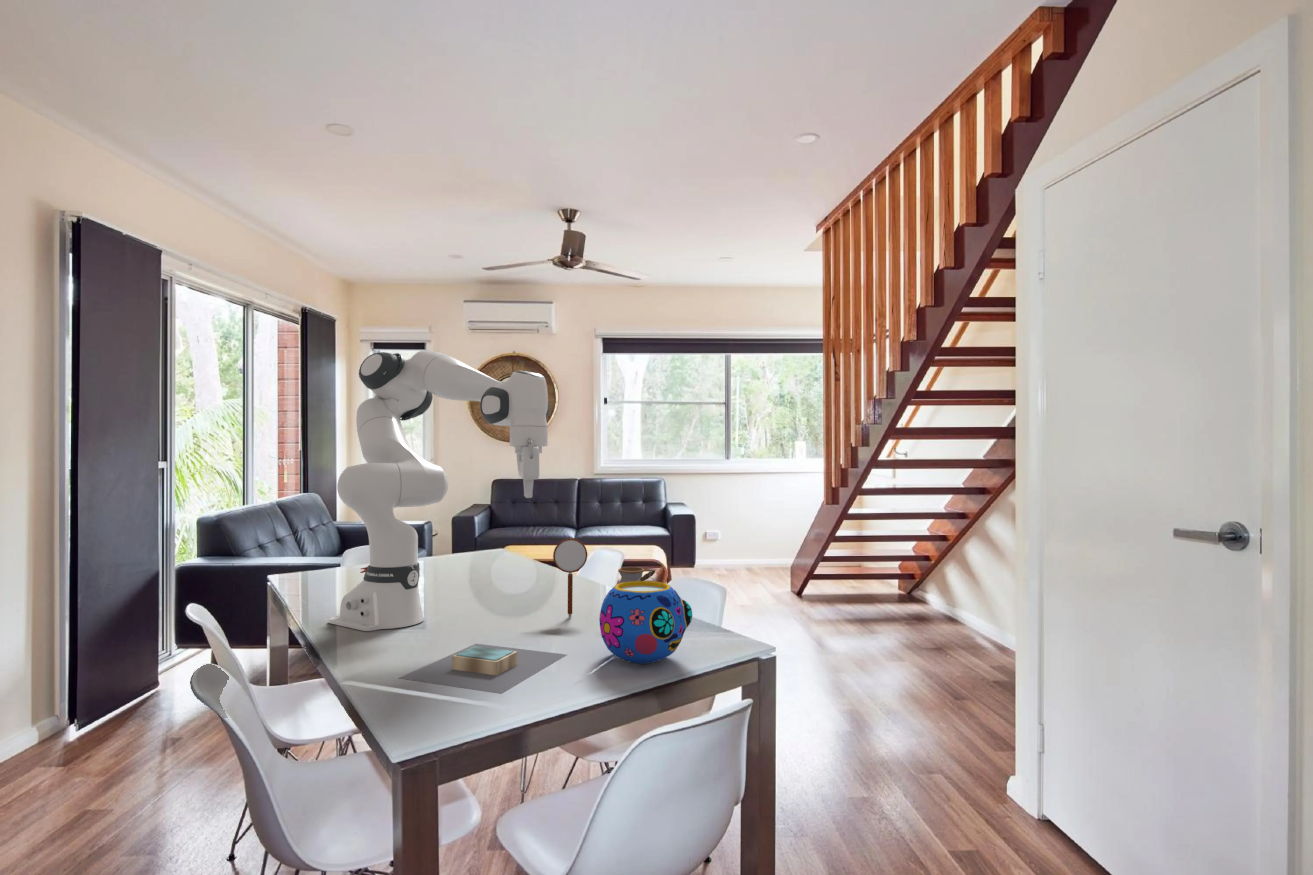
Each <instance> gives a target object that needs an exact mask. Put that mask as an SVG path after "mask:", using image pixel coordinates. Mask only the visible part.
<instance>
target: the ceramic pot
mask: <svg viewBox="0 0 1313 875" xmlns="http://www.w3.org/2000/svg"><path fill="white" fill-rule="evenodd" d="M602 601H603V602H602V603H601V607H600V612H599V620H598V621H599V628H600V629H599V630H600V635H601V638H602V640H603V643H604V644H605V646H606V648H607V650H608V651H609V652H610V653H611V654H613V656H615V657H617V658H619V659H621V660H622V661H626V662H628V663H633V664H640V665H644V664H652V663H656V662H658V661H662V660H664V659H666V658H668V657H669V656H671V655H672V654H674V653H675V652H676V650H678V649H677V648H678V647H679V646H680V644H681V642H682V640H683V636H684V634H685V632H686V629H687V628H688V627H689V626H690V625H691V622H692V620H693V610H692V607H691V605H690V603H688V602H687V601H686V600H684V599H682V597H681V596H680V595H679V594H678V592H677V591H676V590H675V589H674V588H673V587H672V586H671V585H669V584H667V583H665V582H660V581H653V580H652V581H651V580H644V581H631V582H624V583H617V584H615V585H614V586H613V587H612V588H611V589H609V591H608V592H607V594H606V595H605V597H604V599H603V600H602Z"/></svg>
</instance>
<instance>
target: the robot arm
mask: <svg viewBox="0 0 1313 875" xmlns="http://www.w3.org/2000/svg"><path fill="white" fill-rule="evenodd" d="M358 378H359V379H360V381H361V382H362V383H363V385H364V386H365V387H366V388H367V389H369V390H370V391H372V393H374V394H375V395H374V397H370V398H367V399H365V400H364V401H363V402H361V403H360V405H359V406H358V407H357V410H356V418H355V419H356V421H355V422H356V433H357V437H358V440H359V447H360V450H361V453H362V457H363V458H364V460H365V461H366V462H365V463H362V464H355V465H351V466H347V467H346V468H345V469H344V470H343V471H342V472H341V474H340V475H339V477H338V480H337V486H336V487H337V493H338V497H339V498H340V500H341V501H342V503H343V504H344V505H345V506H347V508H350V509H351V510H353V511H354V512H355V513H356V514H357V515H358V516H359V517H360V519H361V520H362V522H363V524H364V526H365V528H366V531H367V535H368V546H369V564H368V565H367V566H366V567H361V568H360V572H359V573H360V574H363V573H364V575H363V578H362V581H361V582H359V583H358V584H357V585H356V586H355V587H353V588H352V589H350V591H348V592H347V593H346V594H345V595H343V597H342V599H341V602H340V608H339V613H338V614H336V615H333V616H332V617H330V618H329V619H328V623H329V624H331V625H336V626H341V627H344V628H345V627H346V628H349V629H354V630H358V631H363V632H369V631H370V632H372V631H378V630H389V629H390V630H391V629H399V628H405V627H409V626H410V627H411V626H413V625H417V624H420V623H422V622H424V620H425V617H424V613H423V610H422V604H421V599H420V593H419V592H420V591H419V580H420V569H421V568H420V562H419V557H418V555H419V549H418V548H419V535H418V532H417V530H416V529H415V528H414V527H413V526H412V525H410V524H408V523H406V522H404V521H402V520H401V519H400V520H399V519H397V518H396V517H395V516H396V515H395V514H394V509H395V508H414V507H417V508H418V507H425V506H428V505H429V506H430V505H433V504H437V503H438V504H439V503H440V502H441V501H442V500H444V498H445V496H446V494H447V491H448V490H449V489H448V488H449V479H448V476H447V474H446V471H445V470H444V469H443V467H441V466H440V465H438V464H436V463H433V462H430V461H428V460H427V459H425V458H423V457H422V456H421V455H419V454H418V452H416V451H415V450H414V449H413V448H412V447H411V446H410V444H409V443H408V439H407V437H406V435H405V432H404V429H403V426H402V423H401V421H409V420H411V419H415V418H416V417H419V416H421V415H423V414H424V413H425V412H427V410H428V409H429V408H431V407H430V406H431V404H432V402H433V395H434V396H436V397H438V398H442V399H446V400H451V401H462V402H463V401H464V402H480V403H479V404H480V409H479V410H480V413H481V416H482V419H484V421H485V422H487V424H490V425H493V426H499V427H500V426H501V427H502V426H503V427H504V426H505V427H509V446H510V447H514V453H515V454H516V463H517V473H518V476H519V477H520V478H521V479H523V483H522V484H523V496H524V497H525V498H526V499H531V498H533V491H534V482H535V481H534V480H539V478H540V454H543V447H548V444H549V443H548V438H549V437H548V433H549V432H548V431H549V429H548V428H549V427H548V421H547V419H548V417H549V415H550V401H549V399H548V398H549V394H548V384H547V380H546V377H545V376H544V375H543V374H541V373H538V372H533V371H527V370H517V371H516V370H515V371H513V372H512V373H511V375H510V376H509V378H508V379H506V380H505V381H501V380H498V379H496V378H494V377H491V376H489V375H488V374H485V373H483V372H482V371H480V370H477V369H475V368H474V367H471V365H468V364H466V363H464V362H463V361H461V360H459V359H457V358H455V357H453V356H451V355H449V354H446V353H443V352H439V351H435V350H429V349H423V350H420V351H417V352H416V353H414V354H413V355H412V357H411V358H407V359H404V357H403V354H402V353H399V352H397V353H390V352H385V351H384V352H380V351H379V352H376V353H375V352H374V353H372V354H369V355H368V356H367V357H366V358H365V359H364V360H363V361H362V363H361V364H360V366H359V369H358ZM361 570H362V571H361Z"/></svg>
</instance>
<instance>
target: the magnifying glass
mask: <svg viewBox="0 0 1313 875" xmlns="http://www.w3.org/2000/svg"><path fill="white" fill-rule="evenodd" d="M552 557H553V562H554V565H555V566H556V568H558V569H559V570H560V571H561V572H565V573H568V574H567V614H568V615H567V616H568V618H571V617H572V614H573V588H574V587H573V584H574V583H573V579H574V578H573V577H574V576H573V573H576V572H578V571H580V570H581V569H582V568H583V567H584V566H585V564H586V563H587V559H588V550H587V547H586V545H585V544H584V543H583V542H582V541H581V540H580V539H576V538H573V537H571V538H566V539H563V540H561V541H559V542H558V543H557V544H556V546H555V547H554V549H553V552H552Z"/></svg>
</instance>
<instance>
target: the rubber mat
mask: <svg viewBox="0 0 1313 875" xmlns="http://www.w3.org/2000/svg"><path fill="white" fill-rule="evenodd" d="M474 646H477V647H485V648H493V649H502V650H510V651H516V652H517V665H516V666H514V667H512V668H510V669H508V670H506V671H504V672H503V673H501V674H499V675H490V674H482V673H475V672H468V671H461V670H454V669H452V656H453V655H456V654H458V653H460V652H462V651H465V650H467V649H469V648H471V647H474ZM566 656H567V654H565V653H564V654H563V653H558V652H557V653H556V652H550V651H540V650H532V649H525V648H524V649H523V648H514V647H508V646H507V647H506V646H500V645H499V646H498V645H493V644H492V645H490V644H484V643H483V644H481V643H474V644H472V645H470V646H467V647H465V648H463V649H460V650H458V651H456V652H454V653H452V654H451V653H450V654H449V655H447V656H445V657H443V658H441V659H438V660H436V661H434V662H433V661H432V663H429V664H426V665H424V666H421V667H420V668H418V669H415V670H413V671H411V672H409V673H407V674H404V675H402V676H400V677H398V679H401V680H406V681H415V682H420V683H428V684H434V685H440V686H447V687H453V688H455V687H456V688H459V689H460V688H461V689H467V690H475V691H481V692H486V693H493V694H505V692H507V691H509V690H510V689H512V688H514V687H516V686H517V685H519V684H521V683H522V682H524V681H525V680H527V679H529V678H531V677H532V676H534V675H535V674H538V673H539V672H540V671H542V670H545V669H546V668H548V667H549V666H551V665H553V664H554V663H556V662H557V661H559V660H561V659H564V657H566Z"/></svg>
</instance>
